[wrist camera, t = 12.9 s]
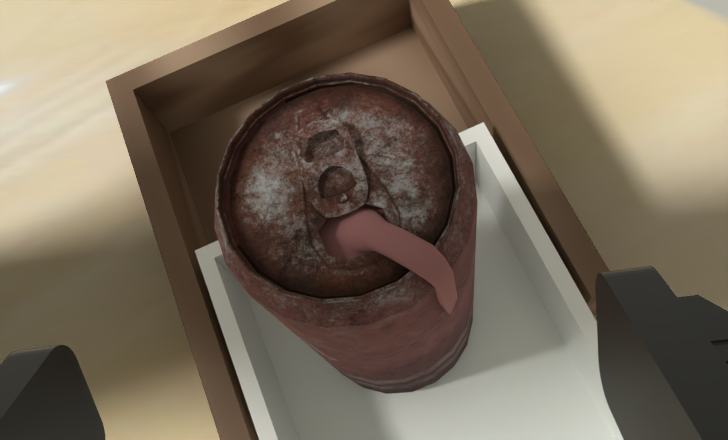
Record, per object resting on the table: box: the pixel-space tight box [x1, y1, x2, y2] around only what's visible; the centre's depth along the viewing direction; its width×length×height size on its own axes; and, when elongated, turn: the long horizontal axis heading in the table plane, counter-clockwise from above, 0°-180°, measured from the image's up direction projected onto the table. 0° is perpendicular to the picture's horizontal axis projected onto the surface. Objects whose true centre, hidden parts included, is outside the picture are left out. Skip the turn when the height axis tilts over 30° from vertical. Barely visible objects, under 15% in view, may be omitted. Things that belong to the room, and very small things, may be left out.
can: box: [214, 72, 478, 394], centre depth 22 cm, size 6×6×14 cm
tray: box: [195, 122, 624, 440], centre depth 25 cm, size 15×16×5 cm
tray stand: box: [106, 0, 610, 440], centre depth 30 cm, size 15×17×5 cm
